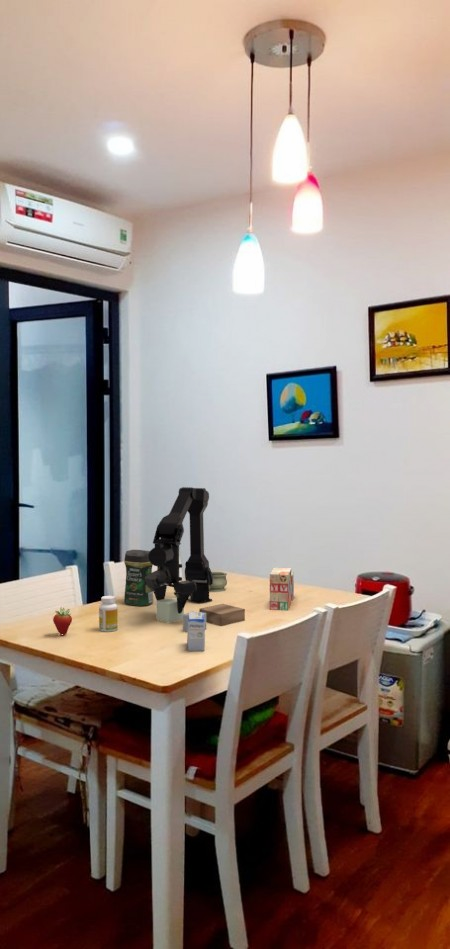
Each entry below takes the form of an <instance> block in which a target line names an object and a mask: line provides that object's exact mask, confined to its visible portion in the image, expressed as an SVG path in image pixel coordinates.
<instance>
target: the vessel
mask: <svg viewBox="0 0 450 949" xmlns="http://www.w3.org/2000/svg"><path fill="white" fill-rule="evenodd" d="M211 572H212V575H213V584H211V585H209V593H219V592H220V593H221V592H225V591H226V588H225V587H226V586H227V585H228V579H227V575H228V574H227V572H222V571H211Z"/></svg>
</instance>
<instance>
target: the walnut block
mask: <svg viewBox="0 0 450 949" xmlns="http://www.w3.org/2000/svg"><path fill="white" fill-rule="evenodd" d="M245 611H246V609H245V608H242V607H238V606H233V605H229V604H227V603H226V604H225V603H219V604H214V605H211V606H210V605H209V606H205V607H201V608H199V611H198V612H202V613H206V624H207V623H208V624H210V625H211V624H212V625H216V626H219V627H224V626H228V625H232V624H236V623H241V622H244V621H246V612H245Z"/></svg>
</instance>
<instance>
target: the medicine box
mask: <svg viewBox="0 0 450 949" xmlns="http://www.w3.org/2000/svg"><path fill="white" fill-rule="evenodd" d="M187 613H188V632H186V633H187V635H186V636H187V639H186V641H187V642H186V643H187V651H189V652H203V651H205V650H206V648H205V647H206V634H205V632H206V630H205V619H204V614H203V613H202V612H199V611H195V612H191V611H189V612H187Z"/></svg>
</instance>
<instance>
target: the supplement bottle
mask: <svg viewBox="0 0 450 949" xmlns="http://www.w3.org/2000/svg"><path fill="white" fill-rule="evenodd" d="M100 598H101V603H100V605H98V630H99V631H101V632H103V631H104V633H105V632H106V633H108V632H110V631H111V632H115V631H117V630H118V626H119V625H118V624H119V623H118V621H119V620H118V614H119V613H118V611H119V610H118V604H116V596H114V595H104V596H102V597H100Z"/></svg>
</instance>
